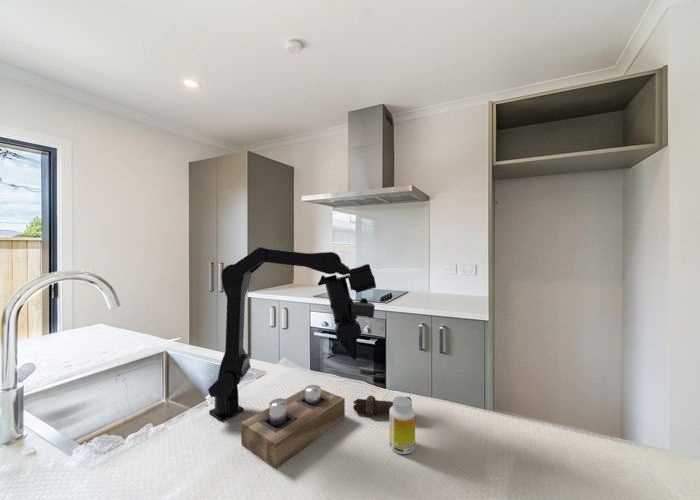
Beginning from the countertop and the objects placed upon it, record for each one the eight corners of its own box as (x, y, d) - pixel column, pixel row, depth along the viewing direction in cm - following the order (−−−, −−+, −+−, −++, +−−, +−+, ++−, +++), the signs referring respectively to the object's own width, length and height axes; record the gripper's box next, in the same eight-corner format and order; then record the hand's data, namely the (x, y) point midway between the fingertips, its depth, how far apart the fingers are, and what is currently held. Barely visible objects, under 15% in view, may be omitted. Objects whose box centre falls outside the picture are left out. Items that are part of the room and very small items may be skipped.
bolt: (355, 417, 79) (412, 422, 76) (351, 417, 75) (411, 423, 71) (357, 393, 82) (411, 397, 79) (353, 392, 78) (410, 396, 74)
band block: (241, 444, 65) (241, 422, 65) (311, 402, 83) (311, 385, 83) (275, 469, 58) (275, 444, 58) (344, 417, 76) (344, 398, 76)
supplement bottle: (420, 450, 63) (420, 403, 63) (399, 459, 61) (399, 410, 61) (404, 435, 68) (404, 392, 68) (384, 443, 66) (384, 397, 66)
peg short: (302, 407, 75) (302, 389, 74) (312, 401, 78) (312, 383, 77) (312, 412, 72) (312, 393, 72) (323, 406, 75) (323, 387, 75)
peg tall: (266, 424, 66) (265, 403, 66) (279, 417, 69) (279, 396, 69) (276, 431, 63) (276, 409, 63) (290, 422, 66) (290, 401, 66)
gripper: (373, 294, 70) (389, 357, 71) (364, 285, 89) (376, 335, 89) (328, 306, 70) (344, 370, 70) (328, 295, 88) (341, 344, 89)
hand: (353, 352), depth 79 cm, fingers open, 9 cm apart
